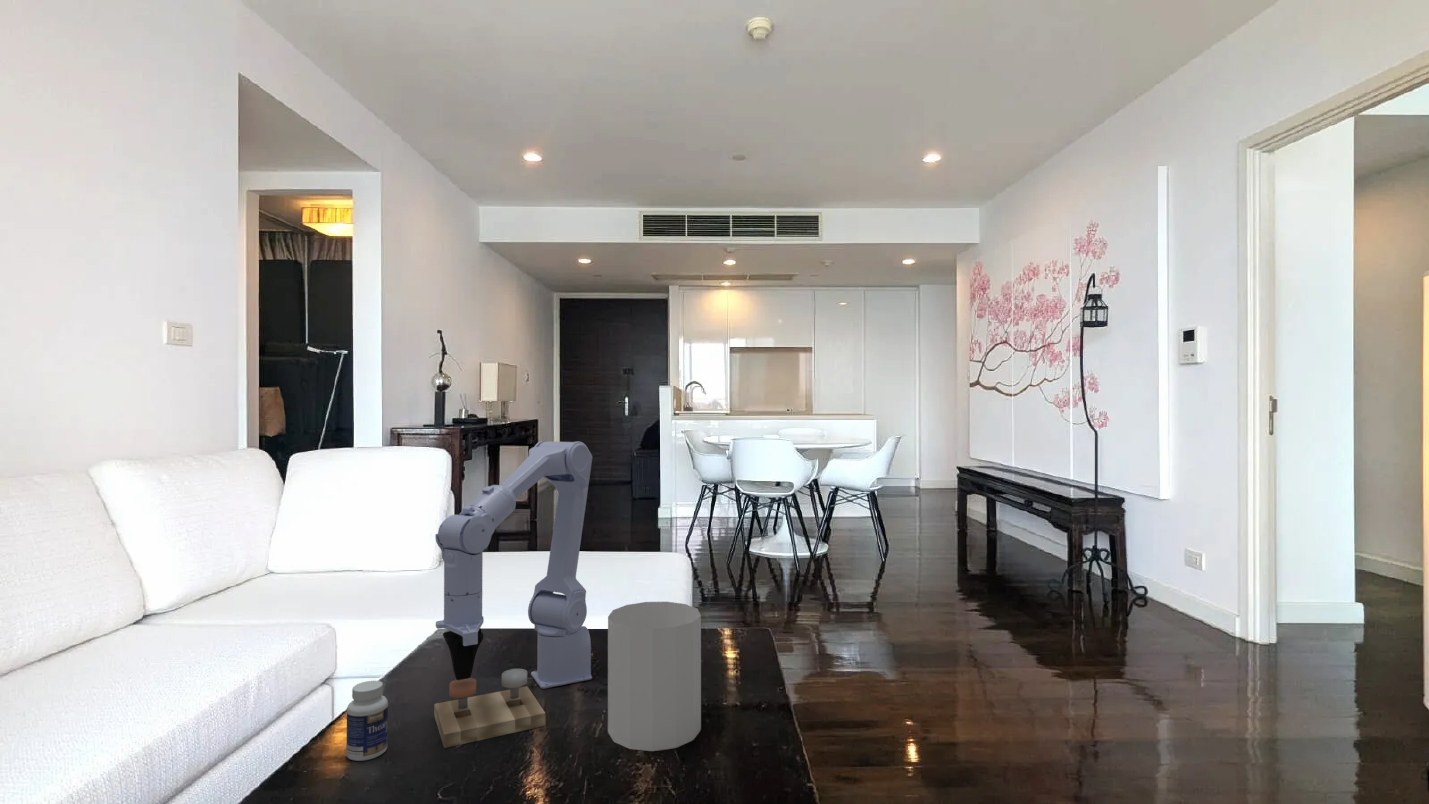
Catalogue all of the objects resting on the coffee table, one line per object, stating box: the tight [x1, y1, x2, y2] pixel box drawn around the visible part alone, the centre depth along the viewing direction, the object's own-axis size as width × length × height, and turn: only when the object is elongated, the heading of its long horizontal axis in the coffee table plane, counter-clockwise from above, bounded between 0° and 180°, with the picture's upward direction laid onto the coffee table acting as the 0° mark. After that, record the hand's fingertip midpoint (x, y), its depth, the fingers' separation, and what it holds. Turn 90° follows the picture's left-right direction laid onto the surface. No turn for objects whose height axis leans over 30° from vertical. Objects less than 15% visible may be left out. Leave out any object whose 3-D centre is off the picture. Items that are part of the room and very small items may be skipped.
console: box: [433, 685, 546, 749], centre depth 110 cm, size 15×12×2 cm
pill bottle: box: [345, 680, 389, 762], centre depth 100 cm, size 5×5×10 cm
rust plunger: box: [448, 677, 477, 709], centre depth 108 cm, size 4×4×4 cm
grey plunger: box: [501, 668, 528, 699], centre depth 112 cm, size 4×4×4 cm
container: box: [607, 601, 702, 752], centre depth 108 cm, size 14×14×18 cm
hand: (462, 677), depth 108 cm, fingers closed
